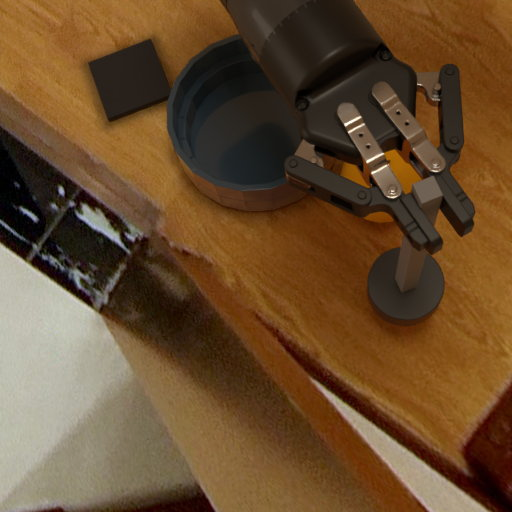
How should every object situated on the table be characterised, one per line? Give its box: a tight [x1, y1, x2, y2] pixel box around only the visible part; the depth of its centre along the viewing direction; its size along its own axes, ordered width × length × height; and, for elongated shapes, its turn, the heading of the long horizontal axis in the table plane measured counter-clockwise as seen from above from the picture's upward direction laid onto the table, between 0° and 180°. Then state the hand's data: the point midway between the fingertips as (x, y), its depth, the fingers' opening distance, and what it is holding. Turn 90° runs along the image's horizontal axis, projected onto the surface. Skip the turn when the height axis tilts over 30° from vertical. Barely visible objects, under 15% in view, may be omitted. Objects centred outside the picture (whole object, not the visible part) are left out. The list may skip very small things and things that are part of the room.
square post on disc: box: [366, 176, 446, 327], centre depth 63 cm, size 6×6×24 cm
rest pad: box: [87, 38, 172, 123], centre depth 88 cm, size 7×7×1 cm
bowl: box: [166, 33, 336, 212], centre depth 83 cm, size 16×16×6 cm
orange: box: [340, 149, 422, 224], centre depth 79 cm, size 8×8×8 cm
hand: (452, 238), depth 52 cm, fingers closed on square post on disc
